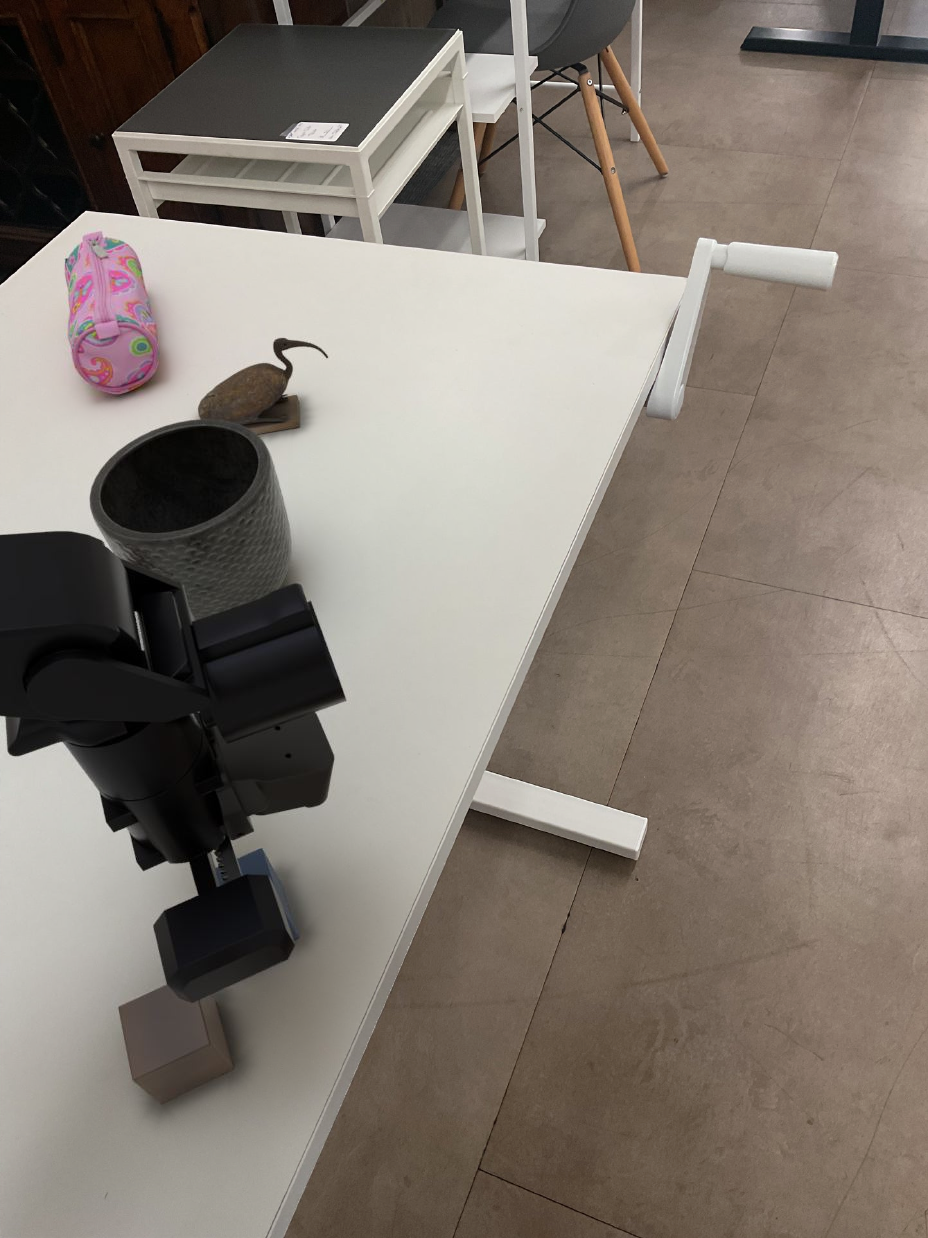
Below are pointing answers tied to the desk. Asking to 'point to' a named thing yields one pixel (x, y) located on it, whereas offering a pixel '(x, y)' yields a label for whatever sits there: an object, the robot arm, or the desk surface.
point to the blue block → (261, 865)
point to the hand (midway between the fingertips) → (235, 891)
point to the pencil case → (110, 315)
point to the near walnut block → (173, 1043)
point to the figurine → (257, 395)
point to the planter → (198, 511)
